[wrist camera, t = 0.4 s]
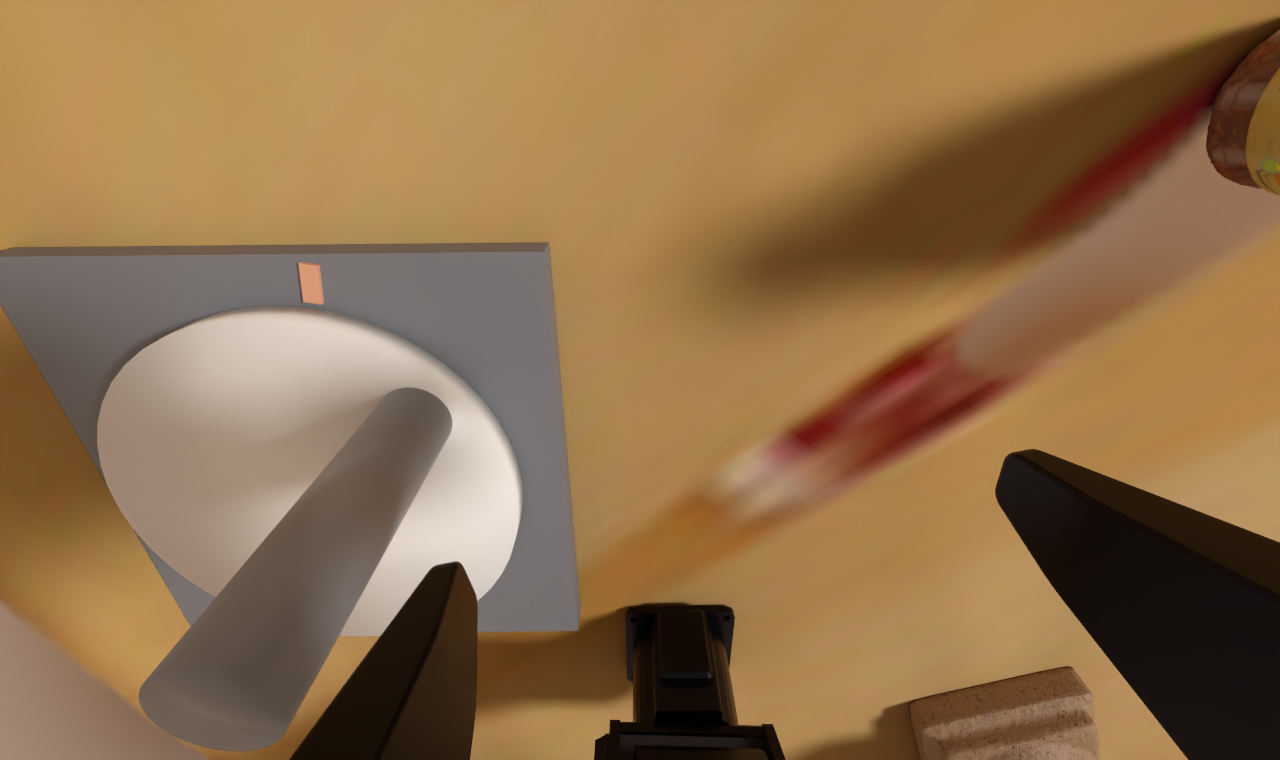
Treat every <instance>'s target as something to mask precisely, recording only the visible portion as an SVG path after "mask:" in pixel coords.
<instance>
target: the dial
mask: <svg viewBox="0 0 1280 760" xmlns="http://www.w3.org/2000/svg"><path fill="white" fill-rule="evenodd" d="M97 447H98V453H99V459H100V465H101V468H102V471H103V474H104V477H105V480H106V483H107V486H108V488H109V490H110V492H111V494H112V496H113V498H114V500H115V502H116V504H117V506H118V508H119V509H120V511H121V512H122V514H123V515H124V517H125V518H126V520H127V521H128V523H129V524H130V526H131V527H132V528H133V529H134V530H135V532H136V533H137V534H138V535H139V536H140V537H141V539H142V540H143V541H144V542H145V543H146V544H147V546H148V547H149V548H151V549H152V550H153V551H154V552H155V553H156V554H157V555H158V556H159V557H160V558H161V559H162V560H163V561H164V562H165V563H167V564H168V565H169V566H170V567H172V568H173V569H174V570H175V571H177V572H178V573H179V574H180V575H182V576H183V577H184V578H186V579H187V580H189V581H190V582H192V583H193V584H195V585H196V586H198V587H199V588H201V589H202V590H204V591H205V592H207V593H209V594H211V595H213V596H215V597H216V598H215V599H214V600H213V601H212V602H211V604H210V605H209V606H208V607H207V608H206V610H205V611H204V612H203V613H202V614H201V615H200V617H199V618H198V619H197V620H196V621H195V623H194V624H193V625H192V626H191V627H190V629H189V630H188V631H187V632H186V633H185V634H184V636H183V637H182V638H181V639H180V640H179V642H178V643H177V644H176V645H175V646H174V648H173V649H172V650H171V651H170V652H169V653H168V655H167V656H166V657H165V658H164V659H163V661H162V662H161V663H160V664H159V665H158V667H157V668H156V669H155V670H154V671H153V672H152V674H151V675H150V676H149V677H148V678H147V680H146V681H145V682H144V683H143V685H142V686H141V688H140V691H139V701H140V704H141V707H142V709H143V710H144V712H145V713H146V715H147V716H148V717H149V718H150V719H151V720H152V721H153V722H154V723H155V724H156V725H158V726H159V727H160V728H162V729H163V730H165V731H166V732H168V733H170V734H172V735H173V736H175V737H177V738H180V739H182V740H184V741H187V742H190V743H192V744H195V745H199V746H202V747H207V748H211V749H217V750H224V751H250V750H257V749H261V748H265V747H267V746H270V745H272V744H274V743H276V742H277V741H279V740H280V739H281V738H282V737H283V736H284V734H285V732H286V731H287V729H288V727H289V725H290V723H291V722H292V720H293V718H294V716H295V714H296V713H297V711H298V709H299V707H300V705H301V704H302V702H303V700H304V698H305V696H306V694H307V693H308V691H309V689H310V687H311V685H312V684H313V682H314V680H315V678H316V676H317V675H318V673H319V671H320V669H321V667H322V665H323V664H324V662H325V660H326V658H327V656H328V655H329V653H330V651H331V649H332V647H333V646H334V644H335V642H336V640H337V638H338V636H339V635H341V636H381V635H382V633H383V632H384V631H385V629H386V628H387V627H388V625H389V624H390V623H391V621H392V620H393V619H394V617H395V616H396V614H397V613H398V612H399V610H400V609H401V608H402V606H403V605H404V604H405V602H406V601H407V600H408V598H409V597H410V596H411V594H412V593H413V591H414V590H415V589H416V587H417V586H418V585H419V583H420V582H421V581H422V579H423V578H424V577H425V575H426V574H427V573H428V571H429V570H430V569H431V568H432V567H433V566H435V565H439V564H444V563H449V562H454V561H458V562H460V563H461V564H462V565H463V567H464V569H465V571H466V573H467V575H468V578H469V580H470V582H471V584H472V586H473V589H474V591H475V593H476V597H477V601H478V600H479V599H480V598H481V597H483V596H484V595H485V594H486V593H487V592H488V591H489V590H490V589H491V588H492V586H493V585H494V584H495V582H496V581H497V580H498V578H499V577H500V576H501V574H502V573H503V571H504V569H505V567H506V565H507V563H508V561H509V559H510V556H511V553H512V549H513V546H514V543H515V539H516V535H517V532H518V528H519V524H520V521H521V514H522V506H523V491H522V479H521V475H520V470H519V466H518V461H517V459H516V456H515V454H514V451H513V448H512V446H511V443H510V441H509V439H508V437H507V435H506V434H505V432H504V430H503V428H502V426H501V425H500V423H499V421H498V420H497V418H496V417H495V416H494V414H493V413H492V411H491V410H490V409H489V407H488V406H487V405H486V403H485V402H484V401H483V400H482V398H481V397H480V396H479V395H478V394H477V393H476V392H475V391H474V390H473V389H472V388H471V387H470V386H469V385H468V384H467V383H466V382H465V381H464V380H463V379H462V378H461V377H460V376H458V375H457V374H456V373H455V372H454V371H453V370H451V369H450V368H449V367H448V366H447V365H445V364H444V363H443V362H441V361H440V360H439V359H437V358H436V357H434V356H433V355H431V354H430V353H428V352H427V351H425V350H424V349H422V348H421V347H419V346H417V345H416V344H414V343H412V342H410V341H408V340H406V339H404V338H402V337H400V336H399V335H397V334H395V333H393V332H391V331H388V330H386V329H383V328H381V327H378V326H376V325H373V324H371V323H368V322H366V321H363V320H360V319H356V318H353V317H349V316H346V315H342V314H339V313H335V312H331V311H325V310H319V309H313V308H307V307H297V306H277V305H270V306H256V307H243V308H239V309H234V310H229V311H225V312H220V313H216V314H213V315H211V316H208V317H205V318H203V319H200V320H197V321H195V322H192V323H190V324H188V325H186V326H184V327H182V328H180V329H178V330H176V331H174V332H172V333H170V334H169V335H167V336H165V337H163V338H161V339H159V340H158V341H156V342H154V343H153V344H151V345H149V346H147V347H146V348H144V349H142V350H141V351H140V352H139V353H138V354H137V355H135V356H134V357H133V358H132V359H131V360H130V361H129V362H127V363H126V364H125V365H124V366H123V368H122V369H121V370H120V372H119V373H118V374H117V376H116V377H115V378H114V380H113V381H112V382H111V384H110V386H109V388H108V391H107V393H106V395H105V397H104V399H103V401H102V405H101V409H100V414H99V418H98V423H97Z"/></svg>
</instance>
